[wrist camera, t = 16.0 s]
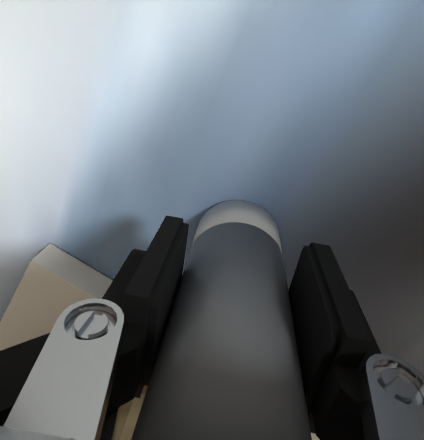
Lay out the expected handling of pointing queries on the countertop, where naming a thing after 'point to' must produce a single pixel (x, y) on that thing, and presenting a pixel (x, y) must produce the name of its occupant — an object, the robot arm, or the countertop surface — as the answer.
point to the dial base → (50, 296)
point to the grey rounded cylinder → (229, 340)
